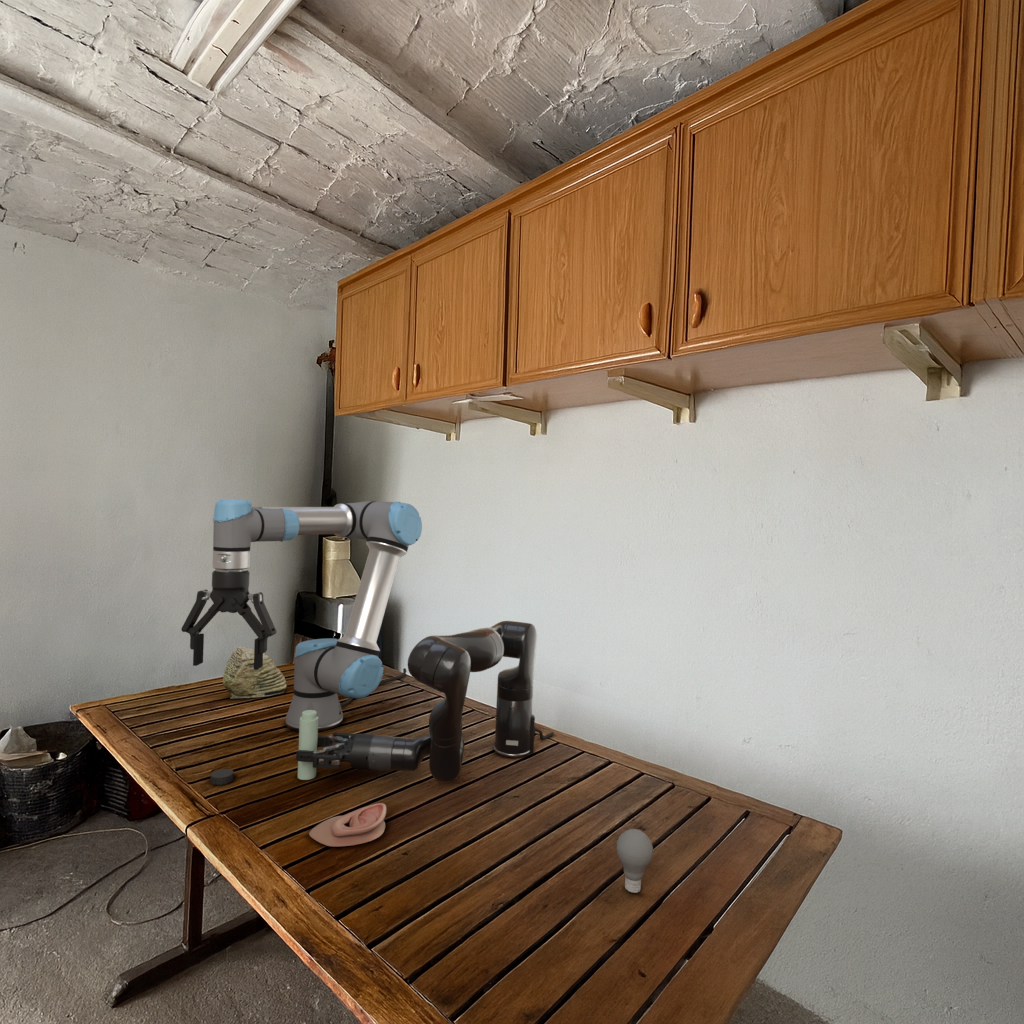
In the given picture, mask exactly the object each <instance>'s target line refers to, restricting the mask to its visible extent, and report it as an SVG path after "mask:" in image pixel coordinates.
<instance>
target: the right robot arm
mask: <svg viewBox="0 0 1024 1024" xmlns="http://www.w3.org/2000/svg"><path fill="white" fill-rule="evenodd" d="M537 647H538V630H537V627H536V625H535V624H533V623H530V622H524V621H523V622H522V621H514V620H501V621H499V622H497V623H495V624H494V625H492V626H490V627H482V628H480V627H479V628H475V629H472V630H469V631H465V632H460V633H455V634H449V635H448V634H447V635H446V634H445V635H438V634H436V635H435V634H434V635H428V636H426V637H424V638H422V639H420V641H418V642H417V643H416V644H415V645H414V647H413V648H412V649H411V651H410V653H409V655H408V658H407V669H408V672H409V674H410V675H411V677H412V678H413V679H415V681H417V682H419V683H421V684H423V685H425V686H426V687H429V688H430V689H433V690H435V691H437V692H440V693H443V694H444V696H445V697H444V698H443V699H441V700H440V701H438V702H437V703H436V705H434V706H433V708H432V709H431V711H430V713H429V718H428V730H429V734H427V735H422V736H417V737H404V736H403V737H401V736H392V735H389V734H373V733H347V732H346V733H345V732H333V733H332V734H329V735H327V736H326V735H318V740H317V748H320V747H321V748H322V749H320V750H319V749H318V750H317V751H308V750H299V749H297V751H296V753H295V760H296V762H298V761H304V762H313V768H316V769H341V764H342V763H347V762H348V763H349V764H350V767H351V769H353V770H363V771H364V770H367V771H378V772H379V771H380V772H383V771H385V772H386V771H399V772H416V771H417V770H419V768H420V766H421V764H422V761H423V760H424V759H425V758H426V757H428V756H429V760H428V761H429V762H428V768H429V773H430V774H431V776H432V777H433V778H434V779H435V780H436V781H438V782H440V783H443V784H446V783H447V784H449V783H451V782H453V781H455V780H457V778H458V777H459V776H460V774H461V772H462V767H463V760H464V752H465V741H464V739H463V710H464V706H465V701H466V696H467V692H468V687H469V683H470V682H469V681H470V675H471V673H480V672H485V671H486V670H489V669H491V668H494V667H495V666H496V665H498V664H499V663H500V662H501V661H502V658H510V659H518V660H519V661H518V665H516V666H514V667H510V668H505V669H503V670H500V671H499V672H498V674H497V683H496V685H497V686H496V707H495V728H494V729H495V730H494V732H495V733H494V745H493V751H494V752H495V753H496V754H497V755H499V756H501V757H505V758H512V759H514V758H515V759H517V758H524V757H526V756H528V755H531V754H534V748H535V747H534V746H535V738H536V733H539V739H541V740H546V739H548V738H550V737H552V736H554V735H555V732H553V731H551V732H549V733H547V734H545V735H543V734H544V733H543V731H542V729H539V728H537V727H536V725H535V723H536V716H535V715H534V714H533V701H534V699H533V697H534V696H533V695H534V679H535V671H536V656H537Z"/></svg>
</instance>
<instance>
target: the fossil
mask: <svg viewBox="0 0 1024 1024" xmlns="http://www.w3.org/2000/svg"><path fill="white" fill-rule="evenodd" d="M222 676H223V677H222V685H223V687H224V688H225V690H226V691H228V693H229V698H230V699H250V698H264V697H271V696H275V695H281V694H284V693H285V691H286V689H287V687H288V686H287V680H286V678H285V676H284V674H283V673H282V672H281V669H279V668H278V667H277V665H276V663H275V662H274V660H273V659H272V658H271V657H270V656H269V655H268V654H267V652H265V653H263V666H262V667H260V668H259V669H254V648H251V647H247V646H246V647H245V646H238V647H237V648H236V649H235V650H233V651H232V653H231V656H230V657H229V659H228V660H227V663H226V666H225V668H224V671H223V675H222Z"/></svg>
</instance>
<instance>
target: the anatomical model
mask: <svg viewBox="0 0 1024 1024" xmlns="http://www.w3.org/2000/svg"><path fill="white" fill-rule="evenodd" d="M386 816H387V805H386V804H385V803H383V802H378V803H373V804H370V805H368V806H364V807H360V808H358V809H355V810H353V811H351V812H348V813H346V814H344V815H343V814H342V815H337V816H333V817H331V818H328V819H326V820H323V821H322V822H320V823H318V824H317V825H315V826H314V827H313V828H311V830H309V832H308V835H309V837H310V838H311V839H313V840H315V841H316V842H318V843H319V844H321V845H325V846H327V847H333V848H335V847H348V846H349V847H350V846H357V845H361V844H365V843H368V842H372V841H374V840H376V839H378V838H380V837H381V836H382V835H383V834H384V832H385V829H386V822H385V819H386Z"/></svg>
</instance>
